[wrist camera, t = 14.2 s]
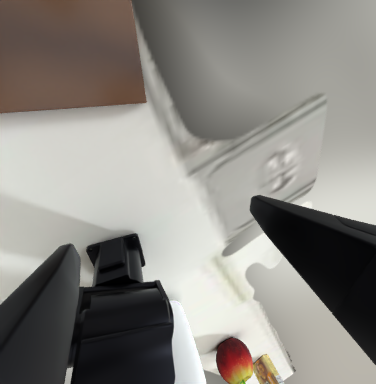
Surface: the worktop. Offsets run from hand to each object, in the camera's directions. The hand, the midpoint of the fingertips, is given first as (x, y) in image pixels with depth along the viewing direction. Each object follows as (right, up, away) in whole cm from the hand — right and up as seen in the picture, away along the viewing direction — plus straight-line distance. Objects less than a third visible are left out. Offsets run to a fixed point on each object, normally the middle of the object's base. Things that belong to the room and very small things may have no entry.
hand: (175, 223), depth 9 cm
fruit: (+13, -47, +47) cm, 68 cm away
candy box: (+34, -77, +72) cm, 111 cm away
